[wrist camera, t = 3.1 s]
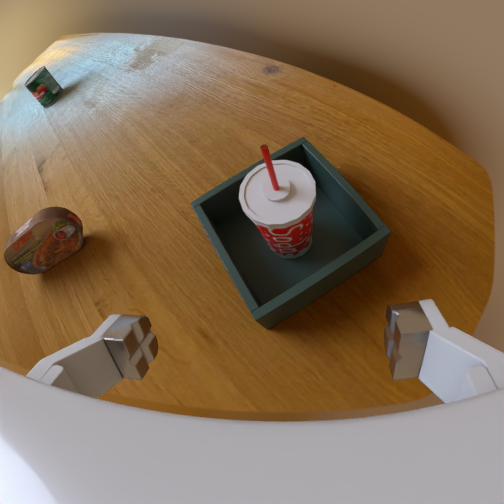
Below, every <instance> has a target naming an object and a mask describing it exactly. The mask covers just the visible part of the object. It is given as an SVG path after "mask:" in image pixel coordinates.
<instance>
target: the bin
mask: <svg viewBox="0 0 504 504" xmlns="http://www.w3.org/2000/svg"><path fill="white" fill-rule="evenodd" d="M270 156H271V160H288V161H292V162H296V163H299V164H300V165H302V166H303V167H305V168H306V169H307V170H309V171H310V173H311V175H312V177H313V179H314V180H315V184H316V201H315V203H314V205H313V230H312V243H311V246H310V248H309V250H308V251H307V252H306V253H304V254H303V255H302V256H300V257H297V258H294V259H285V258H282V257H280V256H277V255H276V254H275V253H274V252H273V251H272V250H271V248H270V247H269V245H268V243H267V242H266V240H265V239H264V237H263V235H262V234H261V232H260V231H259V229H258V228H257V226H256V224H255V223H254V222H253V221H252V220H251V219H250V218H249V217H248V216H246V214H245V212H244V211H243V209H242V206H241V203H240V201H239V191H240V185H241V184H242V182H243V180H244V178H245V177H246V175H247V174H248V173H249V172H251V171H252V170H253V169H254V168H255V167H257V166H258V165H261V164H263V163H265V161H264V159H262V160H261V161H259V162H257V163H255V164H254V165H252V166H250V167H248V168H247V169H245V170H243V171H242V172H240V173H238V174H237V175H235V176H233V177H232V178H230V179H228V180H227V181H225V182H223V183H222V184H220V185H218V186H217V187H215V188H214V189H212V190H210V191H209V192H207V193H206V194H204V195H202V196H201V197H199V198H198V199H196V200H194V201H193V202H191V206H192V207H193V209H194V211H195V213H196V215H197V217H198V219H199V220H200V222H201V224H202V226H203V228H204V230H205V232H206V233H207V235H208V237H209V239H210V241H211V243H212V244H213V246H214V248H215V250H216V252H217V253H218V255H219V257H220V259H221V261H222V262H223V264H224V266H225V268H226V270H227V271H228V273H229V275H230V277H231V279H232V280H233V282H234V284H235V286H236V288H237V289H238V291H239V293H240V295H241V296H242V298H243V300H244V302H245V303H246V305H247V307H248V309H249V310H250V312H251V314H252V316H253V317H254V319H255V321H257V322H258V323H259V324H261V325H262V326H263V327H265V328H266V329H267V330H268V329H270V328H271V327H273V326H275V325H276V324H278V323H280V322H281V321H283V320H285V319H286V318H288V317H289V316H291V315H293V314H294V313H296V312H297V311H299V310H301V309H302V308H304V307H305V306H307V305H308V304H310V303H312V302H313V301H315V300H316V299H318V298H319V297H321V296H322V295H324V294H325V293H327V292H329V291H330V290H332V289H333V288H335V287H336V286H338V285H339V284H341V283H342V282H344V281H345V280H346V279H348V278H349V277H351V276H352V275H354V274H355V273H357V272H358V271H360V270H361V269H362V268H364V267H365V266H367V265H368V264H370V263H371V262H372V261H374V260H375V259H377V258H378V257H380V256H381V255H382V253H383V250H384V248H385V246H386V243H387V241H388V238H389V236H390V233H391V231H390V230H389V229H388V227H387V226H385V224H384V223H383V221H382V220H381V219H380V218H379V217H378V216H377V214H376V213H375V212H374V211H373V210H372V209H371V207H370V206H369V205H368V204H367V203H366V202H365V201H364V199H363V198H362V197H361V196H360V195H359V194H358V193H357V192H356V190H355V189H354V188H353V187H352V186H351V185H350V184H349V183H348V182H347V181H346V180H345V178H344V177H343V176H342V175H341V174H340V173H339V172H338V171H337V170H336V169H335V168H334V167H333V166H332V165H331V164H330V163H329V162H328V161H327V160H326V159H325V158H324V157H323V156H322V155H321V154H320V153H319V152H318V151H317V150H316V149H315V148H314V147H313V146H312V145H311V144H310V143H309V142H308V141H307V140H306V139H305V138H304V137H302V138H300V139H298V140H297V141H295V142H293V143H291V144H289V145H287V146H286V147H284V148H282V149H280V150H278V151H276V152H275V153H273V154H271V155H270Z"/></svg>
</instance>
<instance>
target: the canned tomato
mask: <svg viewBox="0 0 504 504" xmlns="http://www.w3.org/2000/svg"><path fill="white" fill-rule="evenodd" d="M25 86H26V87H27V89H28V90H29V91H30V92H31V93H32V94H33V95H34V97H35V98H36V99H37V100H38V101H39V102H40V103H41V105H42V106H43V107H44V108H48V107H49V106H51V105H52V104H53V103H54V102H55V101H56V100H57V99H58V98H59V97H60V96H61V94H62V93H63V89H62V88H61V87H60V85H59V84H58V83H57V82H56V80H55V79H54V78H53V77H52V75H51V74H50V73H49V72H48V70H47V69H46V68H45V66H43V67H41V68H40V69H38V70H37V71H36V72H35V73H34V74H33V75H32V76H31V77H30V78H29V79H28V80H27V82H26V83H25Z"/></svg>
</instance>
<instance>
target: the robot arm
mask: <svg viewBox="0 0 504 504" xmlns="http://www.w3.org/2000/svg"><path fill="white" fill-rule="evenodd" d="M386 318H387V321H388V325H387V326H386V327H385V331H384V346H385V352H386V356H387V357H389V358H390V363H389V367H390V371H391V375H392V379H393V380H401V379H409V378H416V377H418V379H419V380H421V381H422V382H423V383H424V384H425V385H426V386H427V387H428V388H429V389H430V390H432V391H433V392H434V393H435V394H436V395H437V396H438V397H439V398H440V399H441V400H443V401H444V402H445V404H441V405H436V406H432V407H427V408H422V409H417V410H412V411H406V412H399V413H393V414H386V415H379V416H371V417H363V418H352V419H340V420H325V421H297V422H296V421H293V422H292V421H291V422H290V421H289V422H288V421H285V422H282V421H279V422H278V421H245V420H228V419H215V418H204V417H195V416H187V415H179V414H172V413H165V412H159V411H153V410H147V409H142V408H137V407H131V406H127V405H122V404H117V403H113V402H108V401H104V400H100V399H97V398H98V397H100V396H101V395H102V394H104V393H105V392H106V391H108V390H109V389H110V388H112V387H113V386H114V385H116V384H117V383H118V382H120V381H121V380H122V379H123V378H128V379H136V380H142V379H143V377H144V376H145V374H146V372H147V371H148V369H149V365H148V363H150V362H151V361H153V360H154V359H155V357H156V356H157V352H158V341H157V338H156V336H155V335H154V334H153V333H152V332H151V331H150V329H151V326H152V325H151V323H150V321H149V318H148V317H146V316H141V315H122V314H113V315H110V316H109V317H108V318H107V319H106V320H105V321H104V322H103V323H102V325H101V326H100V327H99V328H98V329H97V330H96V331H95V332H94V333H93V334H92V336H91V337H90V338H89V337H86V338H84V339H82V340H80V341H78V342H76V343H74V344H72V345H70V346H68V347H66V348H64V349H62V350H60V351H58V352H56V353H54V354H52V355H50V356H47V357H45V358H43V359H41V360H40V361H39V362H38V363H37V364H36V365H35V366H34V368H33V369H32V370H31V371H30V372H29V373H28V374H27V375H26V376H24V375H21V374H18V373H16V372H13V371H11V370H9V369H6V368H4V367H1V366H0V504H504V353H502V352H500V351H498V350H496V349H495V348H493V347H491V346H489V345H487V344H485V343H483V342H481V341H479V340H478V339H476V338H474V337H472V336H470V335H468V334H466V333H464V332H462V331H460V330H459V329H457V328H455V327H450V328H449V326H448V324H447V322H446V321H445V319H444V317H443V316H442V314H441V312H440V311H439V309H438V308H437V306H436V304H435V303H434V301H433V300H432V299H427V300H421V301H417V302H410V303H402V304H395V305H388V306H387V310H386Z"/></svg>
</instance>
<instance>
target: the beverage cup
mask: <svg viewBox="0 0 504 504" xmlns="http://www.w3.org/2000/svg"><path fill="white" fill-rule="evenodd" d="M260 148H261V151H262V155H263V158H264V161H265V163H263V164H261V165H258V166H257V167H255V168H254V169H253V170H252V171H251V172H249V173H248V174H247V175H246V177H245V178H244V180H243V182H242V184H241V185H240V191H239V201H240V203H241V206H242V209H243V211H244V212H245V214H246V216H248V217H249V218H250V219H251V220H252V221H253V222H254V223H255V224H256V226H257V228H258V229H259V231H260V232H261V234H262V235H263V237H264V239H265V240H266V242H267V243H268V245H269V247H270V248H271V250H272V251H273V252H274V253H275V254H276V255H277V256H280V257H282V258H285V259H294V258H297V257H300V256H302V255H303V254H304V253H306V252H307V251H308V250H309V248H310V246H311V243H312V230H313V205H314V203H315V201H316V184H315V180H314V179H313V177H312V175H311V173H310V171H309V170H307V169H306V168H305V167H303V166H302V165H300V164H299V163H296V162H292V161H288V160H271V156H270V153H269V150H268V146H267V145H262V146H261V147H260Z"/></svg>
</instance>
